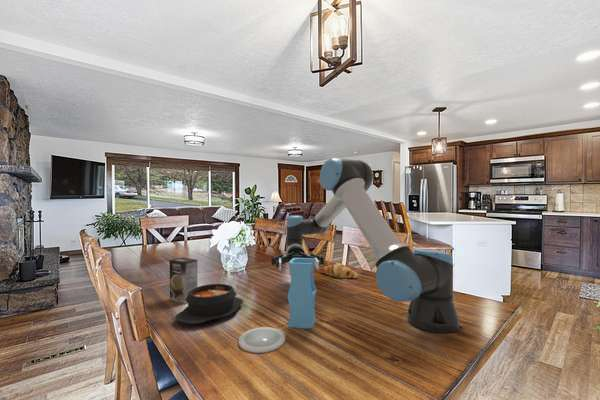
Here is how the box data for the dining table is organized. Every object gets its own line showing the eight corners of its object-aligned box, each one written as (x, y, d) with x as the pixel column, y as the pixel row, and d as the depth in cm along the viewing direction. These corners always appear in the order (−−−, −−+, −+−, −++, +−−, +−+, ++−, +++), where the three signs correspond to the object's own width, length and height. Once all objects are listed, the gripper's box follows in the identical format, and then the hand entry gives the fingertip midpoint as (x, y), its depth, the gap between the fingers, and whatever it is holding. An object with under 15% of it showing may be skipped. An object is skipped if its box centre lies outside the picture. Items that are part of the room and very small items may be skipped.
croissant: (360, 284, 143) (363, 269, 146) (353, 279, 135) (356, 263, 138) (323, 277, 154) (326, 263, 157) (314, 272, 147) (318, 257, 150)
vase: (312, 328, 87) (312, 263, 87) (287, 326, 89) (287, 262, 89) (316, 318, 95) (316, 258, 95) (293, 316, 97) (293, 257, 96)
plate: (294, 343, 79) (293, 340, 79) (250, 358, 71) (250, 354, 71) (271, 325, 90) (271, 323, 90) (231, 337, 82) (231, 334, 82)
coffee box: (169, 300, 112) (168, 259, 112) (182, 295, 118) (182, 256, 118) (185, 304, 108) (184, 262, 108) (198, 299, 114) (197, 258, 114)
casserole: (218, 298, 115) (218, 277, 115) (255, 306, 106) (255, 284, 106) (162, 322, 93) (161, 296, 93) (201, 335, 84) (201, 306, 84)
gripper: (324, 261, 124) (333, 275, 103) (266, 262, 122) (264, 277, 101) (324, 244, 124) (333, 255, 103) (266, 245, 122) (264, 256, 101)
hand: (299, 266), depth 102 cm, fingers open, 13 cm apart
